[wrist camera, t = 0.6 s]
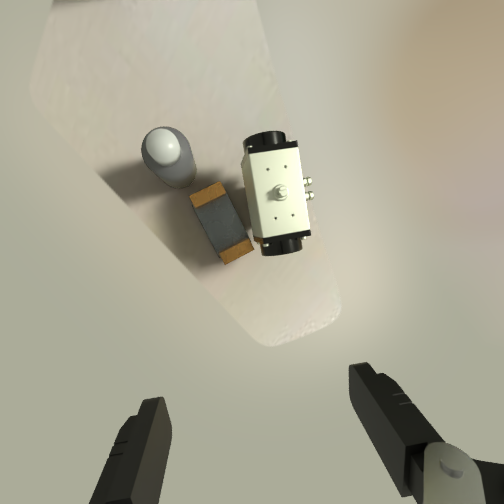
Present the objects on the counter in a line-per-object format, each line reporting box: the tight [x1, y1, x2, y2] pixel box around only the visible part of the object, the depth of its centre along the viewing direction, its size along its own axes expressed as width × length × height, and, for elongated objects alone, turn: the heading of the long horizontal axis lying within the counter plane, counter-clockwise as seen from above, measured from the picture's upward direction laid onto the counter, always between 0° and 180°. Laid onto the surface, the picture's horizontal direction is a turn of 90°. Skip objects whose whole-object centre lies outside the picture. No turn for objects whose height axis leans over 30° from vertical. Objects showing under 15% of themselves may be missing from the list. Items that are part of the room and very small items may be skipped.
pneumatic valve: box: [241, 131, 314, 256], centre depth 29 cm, size 6×12×12 cm, turn 10°
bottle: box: [141, 127, 197, 188], centre depth 28 cm, size 5×5×10 cm
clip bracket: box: [189, 181, 254, 265], centre depth 33 cm, size 9×5×4 cm, turn 27°
